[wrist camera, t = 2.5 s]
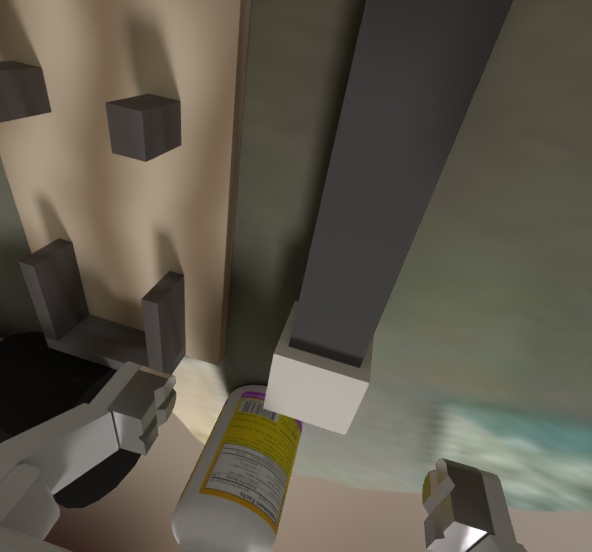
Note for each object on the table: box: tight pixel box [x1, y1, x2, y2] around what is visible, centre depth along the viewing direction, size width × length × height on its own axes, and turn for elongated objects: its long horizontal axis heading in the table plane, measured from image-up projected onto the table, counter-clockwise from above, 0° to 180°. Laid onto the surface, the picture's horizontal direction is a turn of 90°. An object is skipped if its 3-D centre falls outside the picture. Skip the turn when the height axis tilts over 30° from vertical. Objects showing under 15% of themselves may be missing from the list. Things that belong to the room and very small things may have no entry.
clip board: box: [0, 0, 251, 375], centre depth 19 cm, size 14×25×4 cm, turn 170°
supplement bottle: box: [172, 385, 303, 552], centre depth 24 cm, size 7×7×13 cm
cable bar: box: [263, 0, 513, 435], centre depth 17 cm, size 5×21×5 cm, turn 170°
